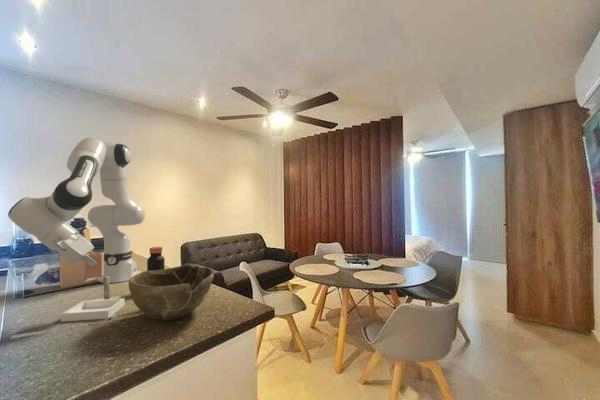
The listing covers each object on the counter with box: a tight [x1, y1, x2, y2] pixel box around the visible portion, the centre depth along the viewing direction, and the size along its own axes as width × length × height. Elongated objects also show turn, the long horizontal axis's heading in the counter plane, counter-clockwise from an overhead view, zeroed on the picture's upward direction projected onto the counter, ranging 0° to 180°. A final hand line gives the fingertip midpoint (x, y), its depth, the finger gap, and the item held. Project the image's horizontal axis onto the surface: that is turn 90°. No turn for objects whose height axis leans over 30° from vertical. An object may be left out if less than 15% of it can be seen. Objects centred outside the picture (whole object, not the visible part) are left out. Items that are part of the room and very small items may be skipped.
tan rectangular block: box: [59, 253, 86, 289], centre depth 131 cm, size 13×9×22 cm
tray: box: [60, 297, 126, 324], centre depth 95 cm, size 12×14×4 cm
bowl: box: [128, 264, 215, 321], centre depth 95 cm, size 28×27×15 cm
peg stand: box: [94, 276, 122, 300], centre depth 107 cm, size 9×9×10 cm
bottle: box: [146, 246, 166, 271], centre depth 119 cm, size 7×7×20 cm
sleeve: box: [85, 251, 104, 280], centre depth 95 cm, size 5×5×8 cm
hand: (97, 263), depth 96 cm, fingers closed on sleeve, 5 cm apart
